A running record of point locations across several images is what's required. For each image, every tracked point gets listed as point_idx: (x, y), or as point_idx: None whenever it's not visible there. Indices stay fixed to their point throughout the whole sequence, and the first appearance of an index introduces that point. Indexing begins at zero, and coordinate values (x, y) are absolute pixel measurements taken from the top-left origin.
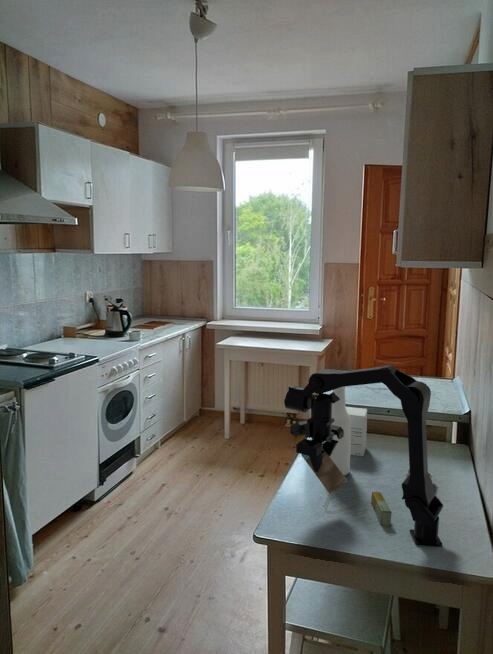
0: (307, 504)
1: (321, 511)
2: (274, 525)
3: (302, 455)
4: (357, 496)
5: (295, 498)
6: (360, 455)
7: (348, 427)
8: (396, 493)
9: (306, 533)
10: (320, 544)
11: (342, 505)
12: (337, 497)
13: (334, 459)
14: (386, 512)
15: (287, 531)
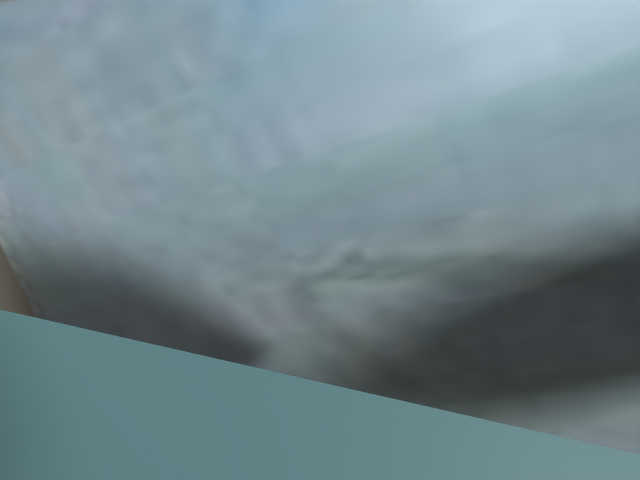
0: (329, 173)
1: (290, 262)
2: (26, 73)
3: (25, 352)
4: (525, 391)
5: (373, 71)
6: None
7: None
8: None
9: (75, 246)
10: (49, 312)
11: (396, 341)
12: (480, 307)
13: None
14: None
15: (30, 161)
